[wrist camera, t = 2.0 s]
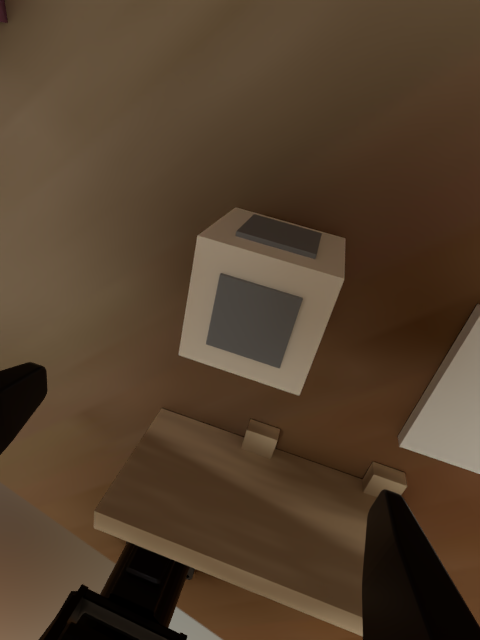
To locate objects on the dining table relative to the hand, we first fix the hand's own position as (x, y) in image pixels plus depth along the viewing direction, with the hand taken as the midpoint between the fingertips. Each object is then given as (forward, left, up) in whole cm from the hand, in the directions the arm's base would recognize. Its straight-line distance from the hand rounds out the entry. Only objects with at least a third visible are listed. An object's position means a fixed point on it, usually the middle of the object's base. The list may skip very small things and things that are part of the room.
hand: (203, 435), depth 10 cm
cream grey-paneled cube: (0, 0, -12) cm, 12 cm away
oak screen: (-12, -3, -12) cm, 17 cm away
